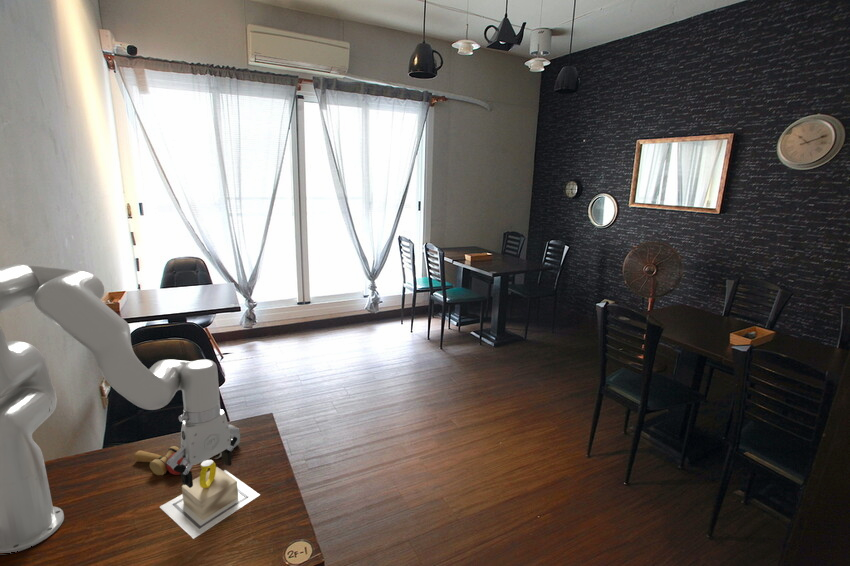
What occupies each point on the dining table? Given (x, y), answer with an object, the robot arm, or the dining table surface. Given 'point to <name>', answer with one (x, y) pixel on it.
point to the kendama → (158, 461)
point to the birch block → (210, 494)
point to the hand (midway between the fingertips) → (208, 473)
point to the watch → (205, 466)
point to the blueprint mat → (198, 526)
